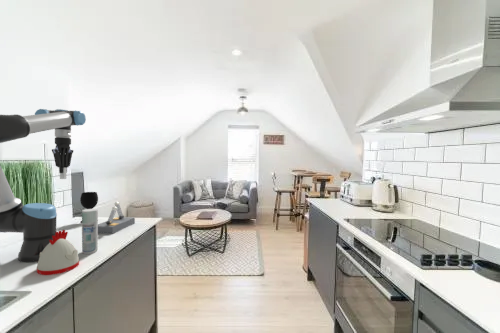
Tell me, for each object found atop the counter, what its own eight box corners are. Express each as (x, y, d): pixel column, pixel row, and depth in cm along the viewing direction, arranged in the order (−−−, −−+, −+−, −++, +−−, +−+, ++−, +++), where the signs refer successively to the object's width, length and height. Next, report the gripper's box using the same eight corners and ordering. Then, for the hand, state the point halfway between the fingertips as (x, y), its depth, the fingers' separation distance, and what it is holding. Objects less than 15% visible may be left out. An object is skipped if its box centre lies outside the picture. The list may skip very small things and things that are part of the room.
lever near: (109, 225, 156) (116, 208, 155) (105, 223, 156) (112, 206, 155) (112, 224, 159) (119, 207, 158) (108, 222, 159) (115, 205, 158)
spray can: (79, 254, 120) (79, 211, 119) (84, 249, 126) (84, 208, 125) (95, 253, 121) (95, 211, 121) (99, 248, 128) (99, 208, 127)
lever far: (122, 218, 170) (116, 201, 170) (118, 219, 170) (112, 203, 170) (125, 217, 173) (119, 201, 173) (121, 218, 173) (115, 202, 173)
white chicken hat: (86, 261, 112) (86, 227, 112) (60, 276, 98) (60, 237, 98) (57, 259, 113) (57, 226, 113) (27, 273, 100) (26, 235, 99)
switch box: (112, 233, 152) (112, 226, 152) (93, 232, 153) (93, 225, 153) (134, 223, 176) (134, 217, 176) (118, 222, 177) (118, 216, 177)
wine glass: (81, 220, 182) (81, 192, 181) (98, 219, 186) (98, 191, 185) (79, 223, 172) (79, 194, 172) (97, 222, 177) (97, 193, 176)
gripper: (59, 136, 140) (59, 179, 141) (77, 138, 153) (77, 178, 154) (46, 136, 141) (47, 179, 142) (66, 138, 154) (66, 177, 155)
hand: (63, 178), depth 148 cm, fingers closed
